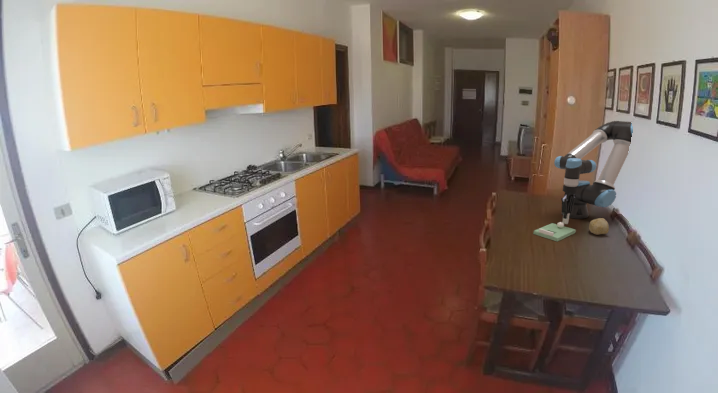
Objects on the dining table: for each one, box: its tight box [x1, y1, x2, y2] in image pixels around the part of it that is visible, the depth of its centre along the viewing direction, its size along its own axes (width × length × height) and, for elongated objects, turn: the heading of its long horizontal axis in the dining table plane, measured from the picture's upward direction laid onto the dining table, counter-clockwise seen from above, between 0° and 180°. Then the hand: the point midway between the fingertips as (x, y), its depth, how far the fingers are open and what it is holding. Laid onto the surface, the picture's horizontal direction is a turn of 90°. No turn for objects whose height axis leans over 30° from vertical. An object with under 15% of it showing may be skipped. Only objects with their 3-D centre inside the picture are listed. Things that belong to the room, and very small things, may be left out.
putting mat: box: [533, 222, 577, 242], centre depth 211 cm, size 20×14×4 cm
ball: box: [557, 221, 565, 228], centre depth 214 cm, size 4×4×4 cm
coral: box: [588, 217, 610, 236], centre depth 208 cm, size 10×10×10 cm
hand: (565, 223), depth 217 cm, fingers closed
